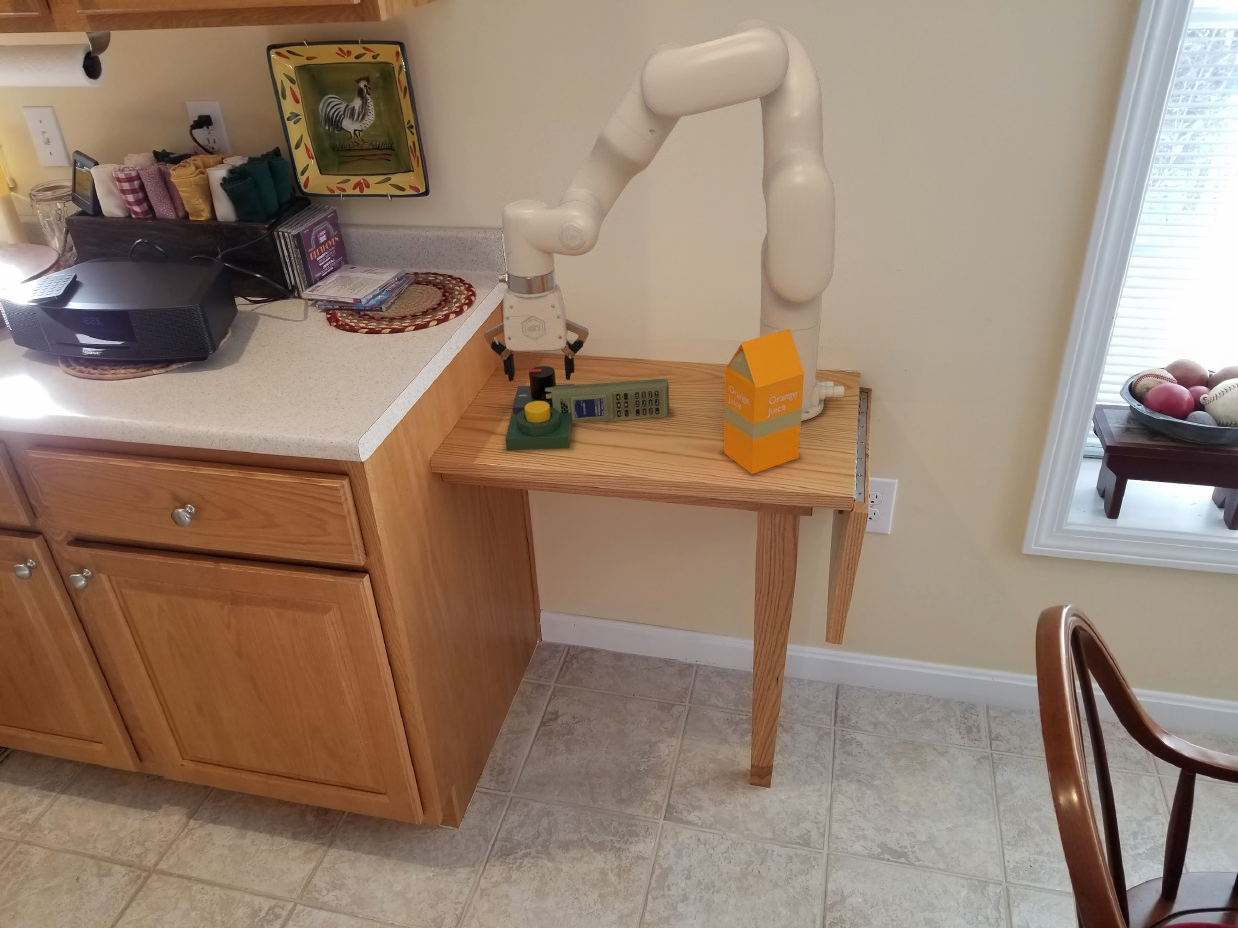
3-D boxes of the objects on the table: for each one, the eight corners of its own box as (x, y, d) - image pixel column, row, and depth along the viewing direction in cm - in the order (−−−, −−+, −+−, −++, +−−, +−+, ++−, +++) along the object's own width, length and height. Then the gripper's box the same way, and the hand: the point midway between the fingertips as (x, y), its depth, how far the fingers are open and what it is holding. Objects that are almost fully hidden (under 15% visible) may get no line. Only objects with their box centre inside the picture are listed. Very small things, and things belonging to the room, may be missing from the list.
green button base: (572, 424, 152) (570, 402, 149) (569, 448, 145) (567, 426, 143) (512, 426, 152) (510, 405, 150) (507, 450, 145) (504, 428, 143)
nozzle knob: (557, 388, 157) (555, 363, 155) (555, 400, 154) (553, 375, 151) (532, 389, 157) (529, 364, 155) (530, 401, 154) (527, 376, 151)
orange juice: (722, 452, 141) (724, 333, 131) (769, 436, 145) (774, 320, 134) (752, 474, 136) (756, 352, 125) (799, 458, 139) (807, 337, 128)
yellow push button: (551, 411, 148) (550, 400, 147) (549, 423, 145) (548, 412, 144) (527, 412, 148) (525, 401, 147) (524, 424, 145) (523, 412, 144)
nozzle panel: (575, 395, 160) (574, 382, 159) (572, 419, 153) (571, 405, 152) (519, 397, 161) (517, 384, 159) (513, 421, 153) (512, 407, 152)
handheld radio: (669, 420, 152) (521, 431, 151) (667, 411, 155) (521, 422, 154) (669, 384, 149) (516, 395, 148) (666, 376, 152) (517, 386, 151)
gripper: (474, 290, 142) (486, 388, 151) (584, 287, 141) (590, 386, 150) (481, 274, 148) (492, 368, 157) (587, 271, 148) (592, 366, 157)
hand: (540, 377), depth 154 cm, fingers open, 9 cm apart
